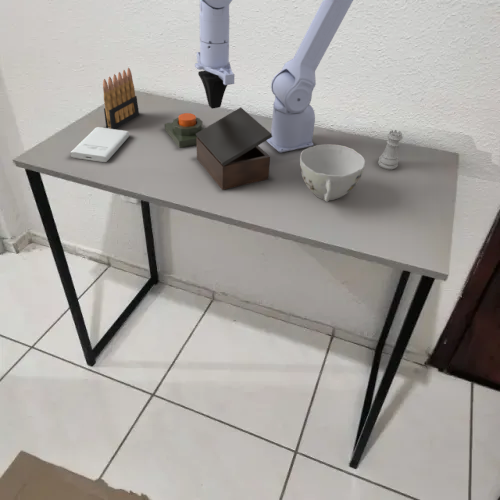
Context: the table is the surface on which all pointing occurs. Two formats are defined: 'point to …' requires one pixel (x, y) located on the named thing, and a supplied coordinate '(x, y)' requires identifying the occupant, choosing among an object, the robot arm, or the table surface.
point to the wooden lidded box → (235, 167)
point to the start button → (187, 119)
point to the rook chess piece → (391, 151)
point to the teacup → (331, 170)
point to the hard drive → (100, 144)
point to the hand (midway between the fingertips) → (214, 106)
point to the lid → (233, 136)
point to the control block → (184, 132)
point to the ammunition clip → (119, 100)
